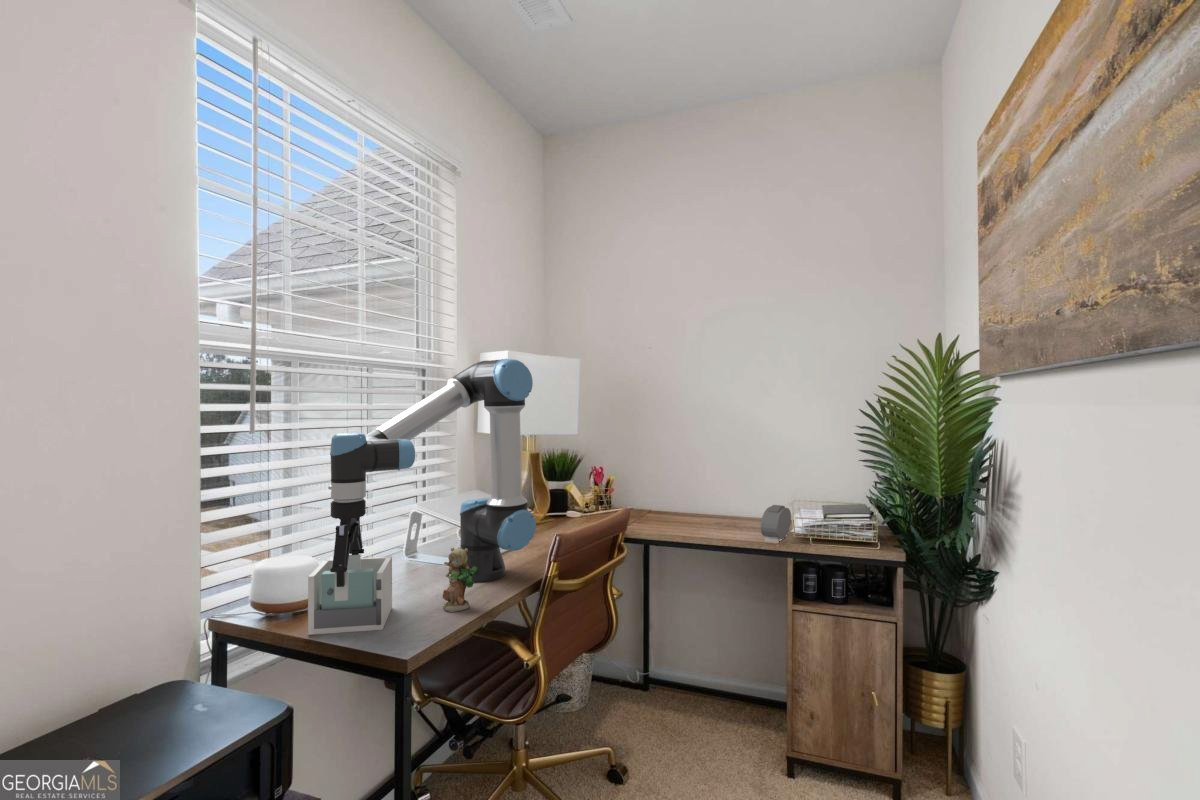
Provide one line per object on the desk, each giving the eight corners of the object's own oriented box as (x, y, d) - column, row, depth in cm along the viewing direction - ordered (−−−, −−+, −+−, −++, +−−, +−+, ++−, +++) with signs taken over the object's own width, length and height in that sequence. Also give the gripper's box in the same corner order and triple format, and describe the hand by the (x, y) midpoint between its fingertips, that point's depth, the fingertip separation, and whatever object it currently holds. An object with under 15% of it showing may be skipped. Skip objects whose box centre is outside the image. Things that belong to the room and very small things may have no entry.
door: (374, 618, 141) (374, 568, 141) (371, 624, 138) (371, 572, 137) (324, 622, 139) (324, 571, 139) (320, 628, 135) (320, 575, 135)
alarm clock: (775, 532, 239) (775, 500, 239) (791, 533, 236) (791, 501, 236) (760, 544, 219) (760, 509, 219) (777, 546, 216) (777, 511, 216)
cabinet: (391, 607, 152) (392, 556, 152) (382, 630, 137) (382, 573, 137) (324, 612, 149) (324, 559, 149) (307, 635, 134) (307, 576, 134)
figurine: (435, 609, 151) (435, 550, 151) (456, 600, 158) (456, 544, 158) (463, 615, 147) (463, 555, 146) (483, 606, 153) (483, 548, 153)
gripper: (343, 491, 150) (343, 575, 150) (316, 509, 126) (316, 610, 126) (374, 490, 152) (374, 573, 152) (354, 508, 127) (354, 607, 127)
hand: (348, 590), depth 139 cm, fingers open, 13 cm apart
